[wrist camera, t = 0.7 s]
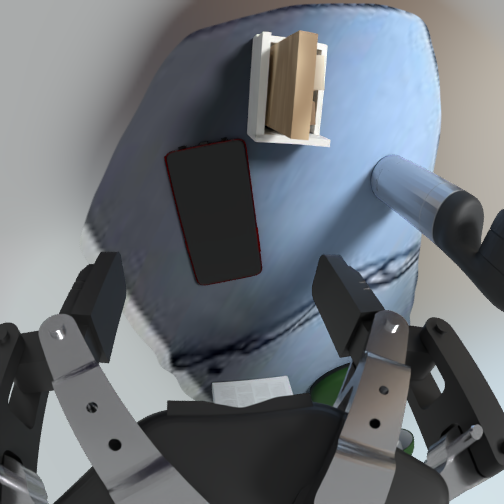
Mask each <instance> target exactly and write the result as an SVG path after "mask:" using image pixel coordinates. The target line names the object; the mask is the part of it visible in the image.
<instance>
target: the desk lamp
mask: <svg viewBox="0 0 504 504" xmlns="http://www.w3.org/2000/svg"><path fill="white" fill-rule="evenodd" d="M349 365H350V363H348V364H345V365H343V366H340V367H337V368H335V369H333V370H331V371H329V372H328V373H326V374H324V375H323V376H321V377H320V378H319V379H318V380H317V381H316V382H315V383H314V384H313V385H312V387H311V389H310V396H311V399H312V401H313V402H317V403H323V404H326V405H330V406H332V407H333V405H334V403H335V401H336V399H337V397H338V394H339V392H340V389H341V387H342V384H343V382H344V379H345V376H346V374H347V371H348V368H349ZM397 447H398V448H400V449H401V450H403V451H404V452H406V453H408V454H409V455H412V453H413V449H414V437H413V434H412V433H411V432H410V431H408V430H406V429H401V431H400V435H399V439H398V443H397Z"/></svg>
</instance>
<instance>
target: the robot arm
mask: <svg viewBox="0 0 504 504" xmlns="http://www.w3.org/2000/svg"><path fill="white" fill-rule="evenodd" d="M371 186H372V190H373V192H374V194H375V196H376V197H377V198H379V199H380V200H381V201H383V202H384V203H385V204H386V205H388V206H389V207H390V208H392V209H393V210H394V211H395V212H397V213H398V214H399V215H400V216H402V217H403V218H404V219H405V220H407V221H408V222H409V223H410V224H412V225H413V226H414V227H415V228H417V229H418V230H419V231H420V232H421V233H422V234H424V235H425V236H426V237H427V238H429V239H430V240H431V241H432V242H433V243H434V244H436V245H437V246H438V247H439V248H440V249H441V250H442V251H443V252H444V253H445V254H446V255H447V256H448V257H449V258H451V259H452V260H453V261H454V262H455V263H456V264H457V265H458V266H459V267H460V268H461V270H462V271H463V272H464V273H465V274H466V275H467V276H468V277H469V278H470V279H471V280H472V282H473V283H474V284H475V285H476V287H477V288H478V289H479V290H480V291H481V292H482V293H483V295H484V296H485V297H486V298H487V299H488V300H489V301H490V302H491V303H492V304H493V305H494V306H496V307H497V308H498V309H500V310H501V311H503V312H504V209H503V210H501V211H500V212H499V213H498V214H497V216H496V218H495V219H494V221H493V223H492V225H491V227H490V229H491V230H489V231H488V233H487V235H486V237H485V239H484V241H483V242H482V244H481V235H482V228H483V222H484V213H483V208H482V205H481V203H480V202H479V200H478V199H477V198H476V197H474V196H473V195H471V194H470V193H468V192H466V191H465V190H463V189H461V188H460V187H458V186H456V185H455V184H453V183H451V182H449V181H447V180H445V179H444V178H442V177H440V176H438V175H436V174H434V173H433V172H431V171H429V170H427V169H425V168H423V167H421V166H419V165H417V164H415V163H413V162H411V161H409V160H407V159H405V158H403V157H400V156H398V155H389V156H386V157H384V158H383V159H381V160H380V161H379V162H378V164H377V165H376V166H375V168H374V170H373V173H372V178H371ZM312 296H313V300H314V302H315V304H316V306H317V308H318V310H319V313H320V315H321V317H322V319H323V321H324V324H325V326H326V328H327V330H328V332H329V335H330V337H331V339H332V341H333V343H334V346H335V348H336V350H337V352H338V355H339V357H340V358H341V357H348V356H351V358H352V362H351V363H350V365H349V368H348V371H347V374H346V376H345V379H344V382H343V384H342V387H341V389H340V392H339V394H338V397H337V399H336V401H335V403H334V405H333V407H332V406H330V405H326V404H323V403H317V402H312V400H311V396H310V393H303V394H296V395H288V396H279V397H274V398H271V399H268V400H265V401H262V402H259V403H256V404H253V405H250V406H246V407H233V406H227V405H221V404H216V403H211V402H206V401H167V410H165V411H161V412H157V413H154V414H152V415H149V416H147V417H145V418H143V419H142V420H140V421H138V422H136V421H135V420H134V418H133V417H132V415H131V414H130V413H129V411H128V410H127V408H126V407H125V406H124V404H123V403H122V401H121V399H120V398H119V396H118V395H117V393H116V392H115V390H114V389H113V387H112V385H111V384H110V383H109V381H108V379H107V377H106V376H105V374H104V372H103V371H102V369H101V367H100V366H99V362H101V363H109V361H110V356H111V352H112V348H113V344H114V340H115V336H116V332H117V328H118V324H119V321H120V317H121V313H122V310H123V306H124V303H125V299H126V283H125V277H124V272H123V266H122V260H121V255H120V253H119V252H100V254H99V256H98V258H97V259H96V261H95V263H94V264H89V265H87V266H86V267H85V268H84V269H83V270H82V271H80V273H79V275H78V277H77V279H76V282H75V283H74V284H73V287H72V290H70V292H69V294H68V296H67V298H66V300H65V302H64V304H63V306H62V309H61V310H60V313H59V314H57V315H53V316H51V317H49V318H47V319H46V320H45V321H44V322H43V323H42V325H41V326H40V328H39V331H34V332H28V333H22V334H21V333H20V332H19V330H18V328H17V326H16V325H15V324H13V323H3V324H0V504H49V503H48V501H47V493H46V491H45V487H44V484H43V482H42V480H41V479H40V477H39V476H38V475H37V474H36V473H37V461H38V452H39V443H40V437H41V430H42V424H43V418H44V413H45V407H46V403H47V398H48V394H49V391H52V390H54V391H55V393H56V396H57V398H58V400H59V403H60V405H61V407H62V409H63V411H64V414H65V416H66V418H67V420H68V422H69V424H70V426H71V428H72V430H73V432H74V434H75V436H76V437H77V439H78V441H79V443H80V445H81V447H82V448H83V450H84V452H85V454H86V456H87V457H88V459H89V461H90V462H91V464H92V467H91V468H90V469H89V470H88V471H87V472H86V473H85V474H84V475H83V476H82V477H81V478H80V479H79V480H78V481H77V482H76V483H75V484H74V485H73V486H71V487H70V488H69V489H68V490H67V491H66V492H65V493H64V494H63V495H62V496H61V497H60V498H59V499H58V500H57V501H55V502H54V504H449V501H451V500H452V499H454V498H456V497H457V496H459V495H460V494H462V493H464V492H465V491H467V490H469V489H471V488H473V487H475V486H477V485H479V484H480V483H482V482H484V481H486V480H487V479H489V478H491V477H493V476H494V475H496V474H498V473H499V472H501V471H502V470H504V412H503V410H502V408H501V406H500V405H499V403H498V401H497V399H496V397H495V395H494V394H493V392H492V390H491V388H490V386H489V385H488V383H487V382H486V380H485V378H484V376H483V375H482V373H481V371H480V370H479V368H478V367H477V365H476V363H475V362H474V360H473V358H472V357H471V355H470V354H469V352H468V351H467V349H466V347H465V346H464V345H463V343H462V341H461V340H460V339H459V337H458V335H457V334H456V333H455V331H454V330H453V328H452V327H451V326H450V325H449V324H448V323H447V322H446V321H444V320H442V319H440V318H435V317H432V318H429V319H428V320H427V322H426V323H425V325H424V327H417V326H409V325H408V323H407V321H406V320H405V319H404V318H403V317H402V316H401V315H399V314H398V313H396V312H393V311H389V310H385V309H384V307H383V306H382V304H381V303H380V301H379V300H378V299H377V297H376V296H375V294H374V293H373V291H372V290H371V289H370V287H369V286H368V284H367V283H365V280H364V279H363V277H362V276H361V274H360V273H359V272H357V271H356V270H355V269H353V268H352V267H351V266H348V265H347V264H346V262H345V261H344V260H343V258H342V257H341V256H340V255H321V257H320V259H319V262H318V266H317V270H316V274H315V277H314V281H313V285H312ZM435 365H436V366H437V368H438V370H439V371H440V373H441V375H442V377H443V379H444V381H445V389H444V391H443V393H442V394H441V392H440V390H439V388H438V386H437V384H436V382H435V380H434V378H433V377H432V375H431V373H430V371H431V370H432V369H433V368H434V366H435ZM13 382H14V387H13V390H12V394H11V397H10V401H9V404H8V398H9V394H10V390H11V387H12V384H13ZM406 401H408V403H409V405H410V407H411V409H412V412H413V414H414V417H415V419H416V421H417V424H418V426H419V429H420V431H421V434H422V436H423V438H424V441H425V444H426V446H427V449H428V453H427V460H425V462H424V463H423V462H421V461H419V460H418V459H416V458H414V457H413V456H411V455H409V454H408V453H406V452H404V451H403V450H401V449H400V448H398V447H397V443H398V439H399V435H400V431H401V426H402V421H403V417H404V412H405V406H406Z"/></svg>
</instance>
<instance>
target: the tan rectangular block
mask: <svg viewBox="0 0 504 504" xmlns="http://www.w3.org/2000/svg"><path fill="white" fill-rule="evenodd" d="M317 40H318V34H315V33H310V32H305V31H300V30H299V31H298V32H296V33H294V34H292V35H290V36H288V37H287V38H285V39H283V40H281V41H280V42H278V43H276V44H274V45H273V46H271V47H270V58H269V72H268V86H267V100H266V114H265V125H266V126H268V127H270V128H272V129H274V130H276V131H277V132H279V133H281V134H283V135H285V136H286V137H288V138H290V139H298V140H309V131H310V122H311V112H312V102H313V91H314V80H315V68H316V54H317Z"/></svg>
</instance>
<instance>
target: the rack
mask: <svg viewBox="0 0 504 504" xmlns="http://www.w3.org/2000/svg"><path fill="white" fill-rule="evenodd" d="M283 39H285V37H278V36H271V33H270V32H262V33H261V34H257V35H256V36H255V37H254V38H253V46H252V61H251V76H250V92H249V108H248V124H247V134H248V135H249V136H250V137H251V138H252V139H253V140H254V141H255V142H269V143H287V144H302V145H314V146H324V147H330V140H329V139H327V138H325V137H323V136H320V135H319V131H320V122H321V113H322V103H323V93H324V90H315V91H313V101H314V102H315V120H316V125H310V131H309V140H298V139H290V138H288V137H286V136H285V135H283V134H281V133H279V132H277V131H276V130H274V129H271V128H265V114H266V100H267V86H268V72H269V58H270V46H273V45H274V44H276V43H278V42H280V41H281V40H283ZM316 55H323V56H324V82H325V71H326V58H327V45H325V44H320V43H317V54H316Z"/></svg>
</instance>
